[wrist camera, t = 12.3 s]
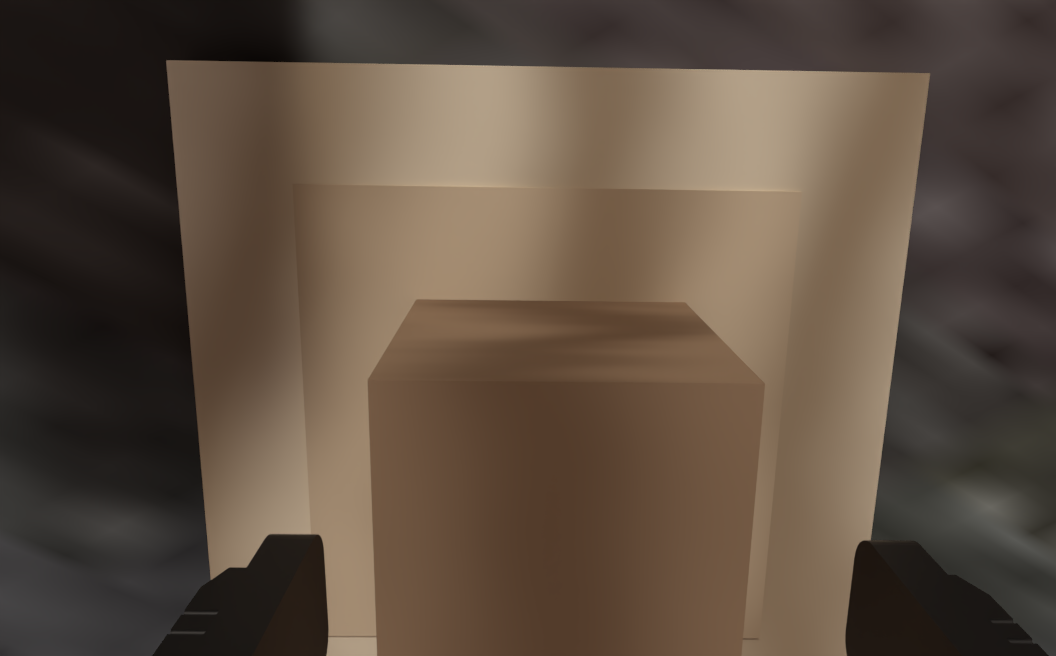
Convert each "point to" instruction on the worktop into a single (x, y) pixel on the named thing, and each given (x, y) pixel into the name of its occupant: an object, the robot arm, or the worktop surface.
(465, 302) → the walnut cube
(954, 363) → the worktop surface
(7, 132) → the worktop surface
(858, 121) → the birch board
